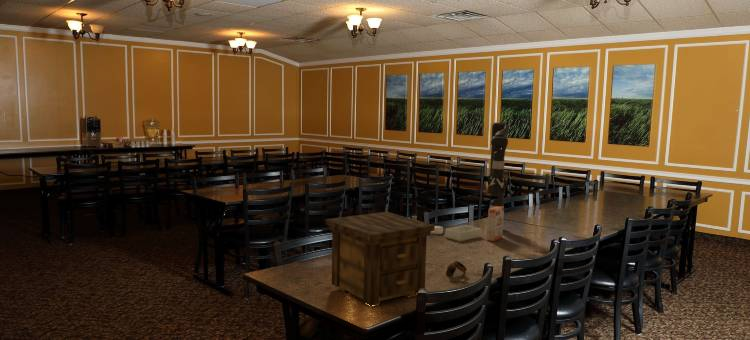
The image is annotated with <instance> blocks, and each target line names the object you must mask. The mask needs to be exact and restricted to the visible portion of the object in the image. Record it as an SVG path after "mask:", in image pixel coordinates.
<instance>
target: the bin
mask: <svg viewBox="0 0 750 340" xmlns="http://www.w3.org/2000/svg"><path fill="white" fill-rule="evenodd" d="M444 235H445V236H444V238H446V239H449V240H451V241H455V242H464V241H469V240H475V239H479V238H481V237H482V236H481V235H482V228H480V227H476V226H472V225H467V224H465V225H460V226H455V227H454V226H453V227H449V228H445V233H444Z"/></svg>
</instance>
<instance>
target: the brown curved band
mask: <svg viewBox="0 0 750 340" xmlns="http://www.w3.org/2000/svg"><path fill="white" fill-rule="evenodd" d="M457 270H459V271H460V272H462V277H463V278H464V277H465V275H466V273H467V267H466V266H465V265H464V264H463V263H461V262H460V261H457V260H454V262H451V263H449V265H448V266H447V268H446V272H445V275H446V276H447V277H449V276H450V277H453V276H454V273H456V271H457Z"/></svg>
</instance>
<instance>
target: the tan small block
mask: <svg viewBox="0 0 750 340" xmlns="http://www.w3.org/2000/svg"><path fill="white" fill-rule="evenodd" d="M443 233H444V227H443V226H440V225H435V228H434V231H431V235H432V234H433V235H442V234H443Z"/></svg>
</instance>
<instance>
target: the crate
mask: <svg viewBox="0 0 750 340" xmlns="http://www.w3.org/2000/svg"><path fill="white" fill-rule="evenodd" d="M324 223H325V224H324V225H326V226H328V230H329V231H332V233H331V235H332V237H331V238H332V239H331V241H332V242H331V285H332V286H334V287H336V288H338V290H339V289H340V290H342V291H344V292H345V291H348V292H349V293H350V294H352V295H354V296H355V297H357V298H359V299H361V300H362V301H363V302H364V304H365V303H367V304H369V305H370V306H372V305H377V304H380V305H381V302H383V301H386V300H391V299H394V298H395V299H396V298H398V297H399V298H400V297H402V296H405V295H407V296H409V297H410V296H414V295H416V293H417V289H419V288H424V289H425V290H426V270H427V269H426V268H427V267H426V265H427V243H428V242H427V241H428V240H427V237H429V236H431V235H432V233H431V231H434V228H435V226H436V225H435V224H432V223H431V224H430V223H427V222H423V221H420V220H416V219H414V218H410V217H407V216H402V215H400V214H396V213H393V212H388V211H383V212H374V213H373V212H372V213H367V214H365V213H364V214H358V215H349V216H340V217H332V218H325V222H324ZM340 290H339V291H340ZM342 291H341V292H342ZM344 292H343V293H344ZM348 292H347V293H348ZM345 293H346V292H345ZM417 294H418V293H417ZM407 296H406V297H407ZM409 297H408V298H409ZM414 297H415V296H414ZM410 298H411V297H410Z"/></svg>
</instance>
